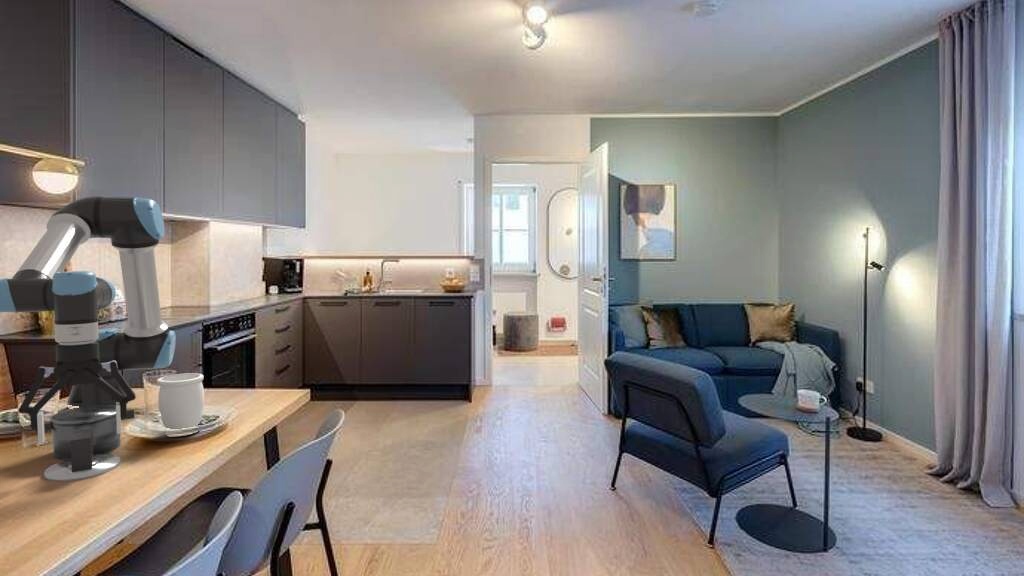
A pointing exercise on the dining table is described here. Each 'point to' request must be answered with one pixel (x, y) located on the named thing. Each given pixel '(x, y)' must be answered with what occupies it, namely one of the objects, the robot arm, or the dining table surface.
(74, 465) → the lid
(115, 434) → the pot
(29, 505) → the dining table surface
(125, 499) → the dining table surface
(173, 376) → the jar
